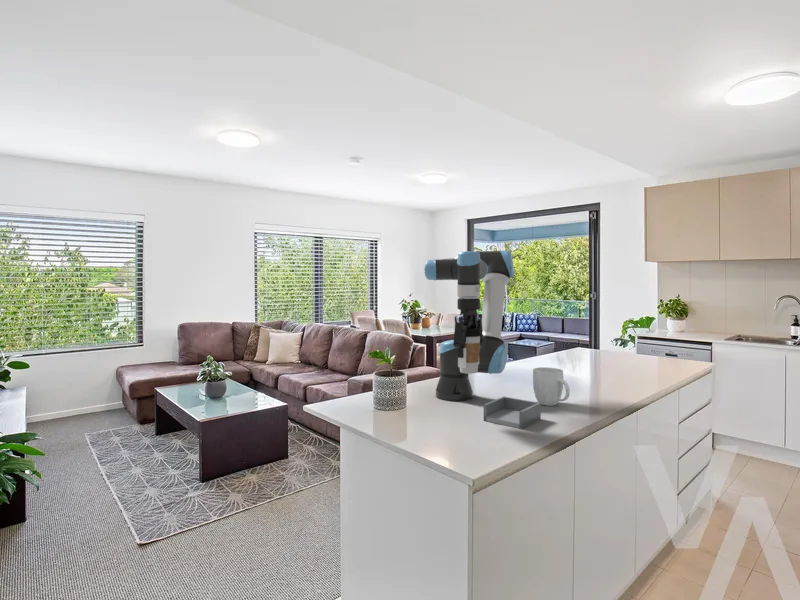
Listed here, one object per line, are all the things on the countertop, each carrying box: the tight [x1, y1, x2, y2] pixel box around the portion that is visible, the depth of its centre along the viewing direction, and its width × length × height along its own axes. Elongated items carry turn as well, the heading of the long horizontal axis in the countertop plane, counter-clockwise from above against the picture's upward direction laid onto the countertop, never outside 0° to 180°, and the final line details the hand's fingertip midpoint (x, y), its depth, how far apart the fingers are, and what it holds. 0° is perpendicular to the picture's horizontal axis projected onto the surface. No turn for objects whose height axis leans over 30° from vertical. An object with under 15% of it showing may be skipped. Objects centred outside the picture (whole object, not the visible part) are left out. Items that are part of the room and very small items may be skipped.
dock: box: [483, 396, 542, 430], centre depth 156 cm, size 14×14×6 cm
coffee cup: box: [460, 327, 481, 375], centre depth 154 cm, size 8×8×15 cm
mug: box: [532, 366, 571, 407], centre depth 174 cm, size 15×11×13 cm
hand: (468, 365), depth 155 cm, fingers closed on coffee cup, 7 cm apart
